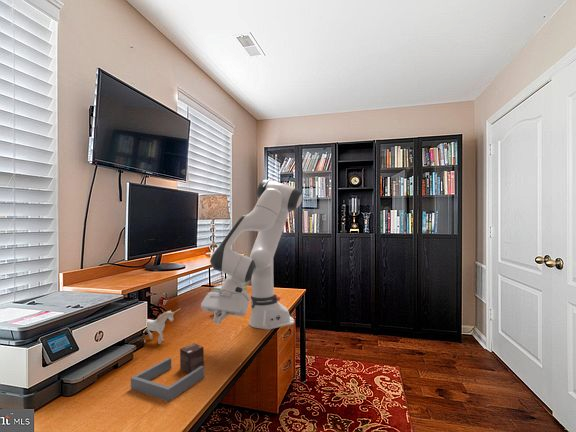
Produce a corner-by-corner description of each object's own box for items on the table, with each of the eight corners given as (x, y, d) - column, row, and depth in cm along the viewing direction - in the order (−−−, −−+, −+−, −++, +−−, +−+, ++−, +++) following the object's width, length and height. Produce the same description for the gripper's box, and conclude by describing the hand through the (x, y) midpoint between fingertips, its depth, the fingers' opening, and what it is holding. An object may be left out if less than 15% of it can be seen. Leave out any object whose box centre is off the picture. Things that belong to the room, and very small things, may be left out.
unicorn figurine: (177, 344, 132) (176, 312, 132) (130, 346, 130) (129, 314, 130) (182, 337, 139) (181, 307, 139) (137, 339, 138) (137, 309, 138)
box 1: (168, 367, 111) (168, 357, 111) (204, 376, 104) (204, 366, 104) (130, 389, 97) (130, 377, 97) (168, 401, 90) (168, 389, 90)
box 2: (194, 362, 114) (194, 342, 114) (204, 367, 110) (204, 346, 110) (179, 369, 110) (179, 348, 110) (189, 374, 106) (189, 353, 106)
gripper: (207, 285, 132) (191, 315, 123) (248, 289, 124) (234, 322, 115) (213, 293, 136) (198, 322, 127) (253, 298, 128) (241, 330, 119)
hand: (216, 322), depth 121 cm, fingers closed
